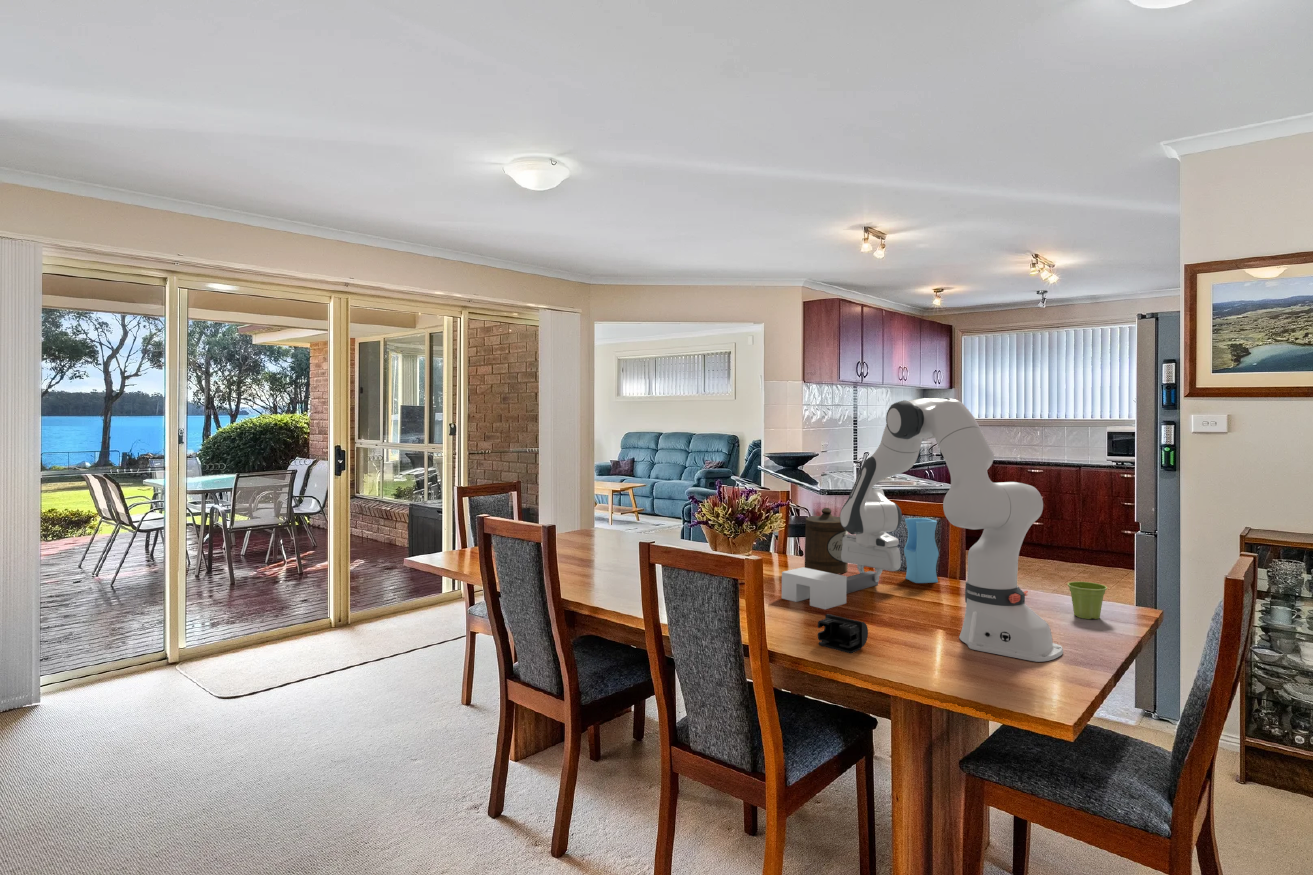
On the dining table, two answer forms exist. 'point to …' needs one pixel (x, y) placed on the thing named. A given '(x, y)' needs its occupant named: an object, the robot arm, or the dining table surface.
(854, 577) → the square rod
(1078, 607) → the plant pot
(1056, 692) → the dining table surface
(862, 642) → the end cap
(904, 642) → the dining table surface
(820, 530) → the wooden container
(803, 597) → the block
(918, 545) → the vase
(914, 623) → the dining table surface
